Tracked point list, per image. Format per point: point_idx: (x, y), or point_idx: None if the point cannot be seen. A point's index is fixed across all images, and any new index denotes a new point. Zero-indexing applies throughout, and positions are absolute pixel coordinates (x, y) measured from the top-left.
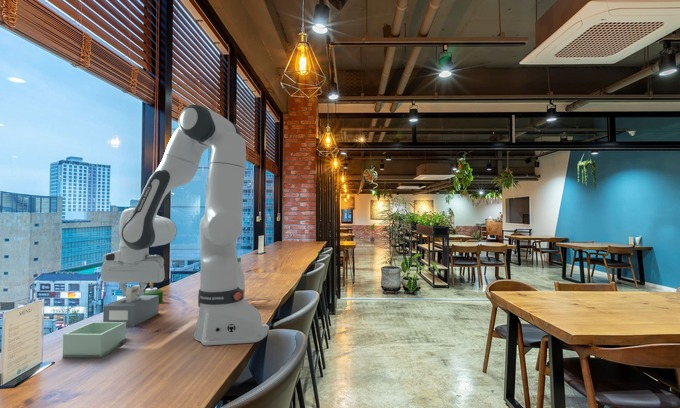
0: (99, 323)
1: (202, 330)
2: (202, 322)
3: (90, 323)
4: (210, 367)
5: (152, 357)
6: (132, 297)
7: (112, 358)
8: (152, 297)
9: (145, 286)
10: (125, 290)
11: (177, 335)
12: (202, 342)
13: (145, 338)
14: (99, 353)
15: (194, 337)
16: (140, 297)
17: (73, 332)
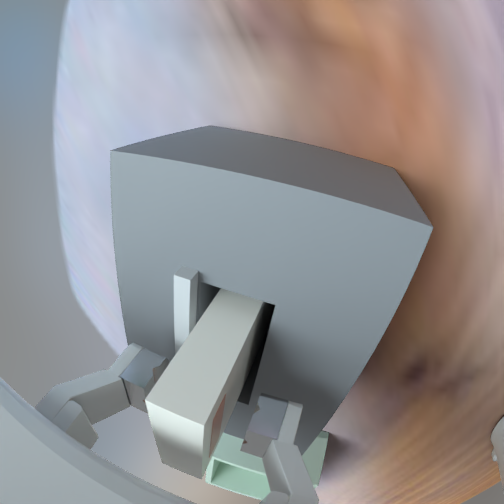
0: (236, 465)
1: (499, 468)
2: (502, 482)
3: (212, 460)
4: (467, 490)
5: (397, 477)
6: (231, 404)
7: (325, 470)
8: (379, 313)
9: (306, 486)
10: (135, 403)
11: (465, 413)
12: (492, 455)
13: (378, 419)
14: None
15: (491, 437)
16: (249, 281)
17: (212, 475)
